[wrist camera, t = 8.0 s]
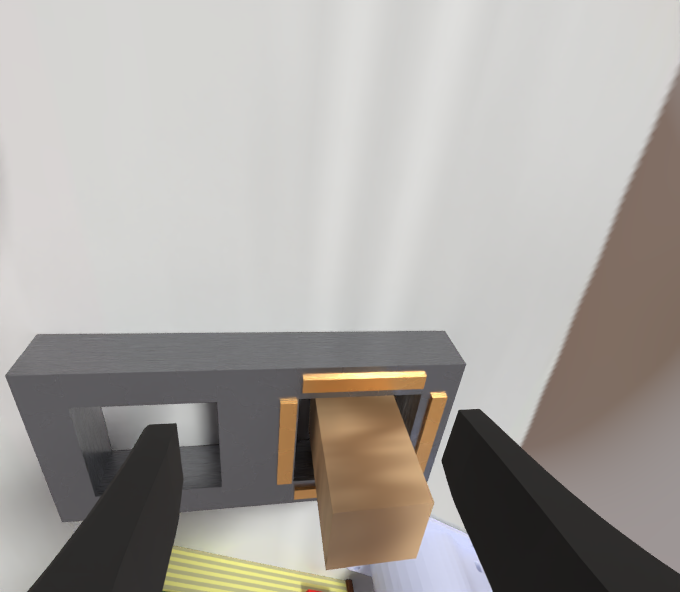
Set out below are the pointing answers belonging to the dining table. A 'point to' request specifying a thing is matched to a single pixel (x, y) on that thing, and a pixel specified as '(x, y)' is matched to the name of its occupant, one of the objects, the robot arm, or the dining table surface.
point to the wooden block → (366, 481)
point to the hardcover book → (239, 575)
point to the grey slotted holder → (222, 404)
